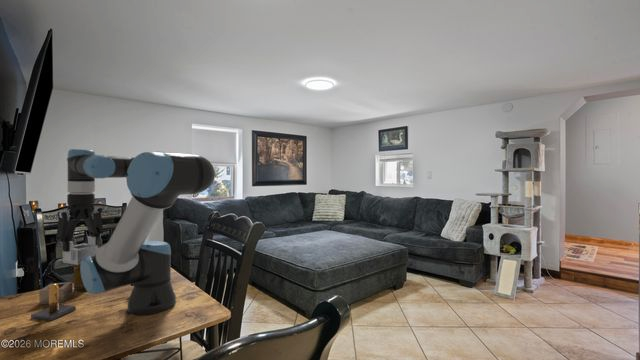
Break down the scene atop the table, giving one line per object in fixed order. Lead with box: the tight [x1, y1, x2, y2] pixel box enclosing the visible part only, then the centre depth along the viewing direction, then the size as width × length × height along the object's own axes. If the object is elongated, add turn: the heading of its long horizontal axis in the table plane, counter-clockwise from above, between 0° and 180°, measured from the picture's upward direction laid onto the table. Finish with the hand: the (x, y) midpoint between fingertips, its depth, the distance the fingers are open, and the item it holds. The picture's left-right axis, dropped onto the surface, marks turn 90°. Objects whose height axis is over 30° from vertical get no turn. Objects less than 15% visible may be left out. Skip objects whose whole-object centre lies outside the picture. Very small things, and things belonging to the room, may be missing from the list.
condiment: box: [72, 264, 88, 293], centre depth 121 cm, size 7×8×12 cm
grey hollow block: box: [62, 243, 99, 265], centre depth 106 cm, size 7×7×5 cm
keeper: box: [30, 283, 77, 322], centre depth 100 cm, size 8×8×10 cm
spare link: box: [39, 281, 73, 305], centre depth 111 cm, size 7×7×5 cm
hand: (80, 257), depth 106 cm, fingers closed on grey hollow block, 7 cm apart
